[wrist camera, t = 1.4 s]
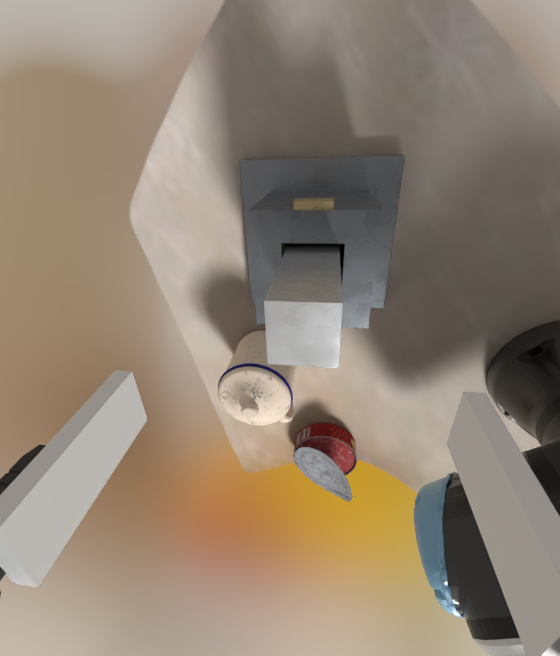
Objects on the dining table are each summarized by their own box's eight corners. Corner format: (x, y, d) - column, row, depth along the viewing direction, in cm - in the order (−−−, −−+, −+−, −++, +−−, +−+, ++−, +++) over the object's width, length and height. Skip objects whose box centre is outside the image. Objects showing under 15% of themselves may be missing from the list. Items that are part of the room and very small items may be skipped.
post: (338, 220, 34) (344, 301, 17) (336, 261, 37) (339, 369, 19) (296, 220, 35) (261, 298, 18) (297, 260, 37) (266, 365, 20)
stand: (401, 155, 32) (433, 162, 22) (381, 302, 40) (398, 358, 30) (243, 159, 35) (205, 168, 24) (253, 298, 43) (228, 349, 32)
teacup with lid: (223, 344, 47) (193, 399, 37) (275, 316, 43) (258, 369, 33) (269, 401, 51) (254, 466, 41) (321, 380, 48) (318, 445, 38)
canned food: (338, 442, 60) (329, 502, 55) (289, 424, 58) (275, 484, 53) (377, 433, 51) (370, 505, 45) (320, 411, 48) (306, 483, 43)
